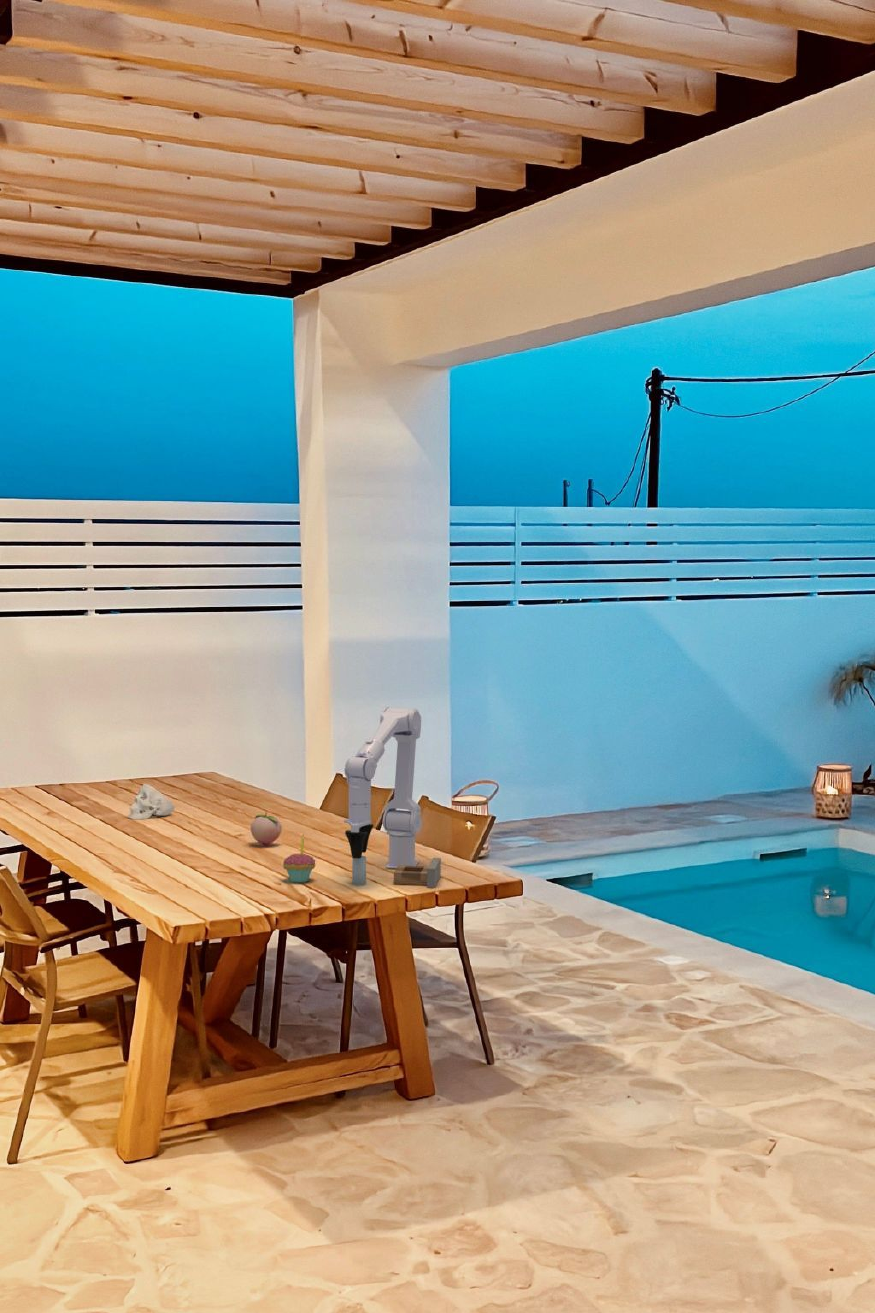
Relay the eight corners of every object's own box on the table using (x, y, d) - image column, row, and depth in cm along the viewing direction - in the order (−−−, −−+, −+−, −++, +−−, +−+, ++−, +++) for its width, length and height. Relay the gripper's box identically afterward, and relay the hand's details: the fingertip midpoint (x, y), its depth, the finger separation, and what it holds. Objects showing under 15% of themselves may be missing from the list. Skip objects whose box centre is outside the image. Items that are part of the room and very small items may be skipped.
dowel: (353, 882, 347) (353, 855, 346) (367, 882, 346) (367, 856, 346) (351, 885, 343) (351, 858, 343) (364, 885, 343) (365, 858, 342)
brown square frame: (398, 876, 353) (398, 865, 353) (432, 877, 352) (432, 866, 352) (393, 883, 344) (393, 872, 344) (428, 885, 343) (428, 873, 343)
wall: (433, 876, 354) (433, 857, 354) (440, 876, 354) (440, 857, 354) (426, 887, 341) (427, 868, 340) (434, 888, 340) (434, 868, 340)
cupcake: (292, 876, 353) (292, 831, 352) (321, 879, 350) (321, 833, 349) (277, 882, 345) (277, 837, 344) (306, 885, 342) (306, 839, 341)
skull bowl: (118, 812, 439) (136, 780, 443) (151, 831, 446) (169, 799, 450) (130, 817, 431) (149, 784, 434) (164, 836, 438) (182, 803, 441)
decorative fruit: (244, 846, 392) (244, 813, 391) (260, 842, 399) (260, 809, 399) (270, 849, 387) (270, 816, 387) (286, 845, 395) (286, 811, 394)
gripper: (349, 798, 351) (349, 849, 352) (339, 807, 337) (338, 860, 337) (375, 799, 350) (375, 850, 351) (366, 808, 336) (366, 861, 337)
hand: (359, 855), depth 344 cm, fingers open, 7 cm apart
